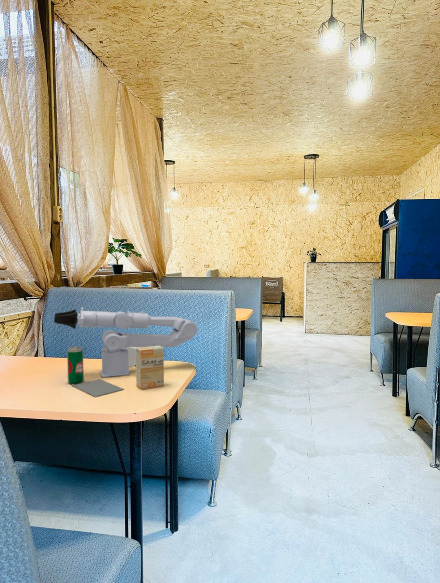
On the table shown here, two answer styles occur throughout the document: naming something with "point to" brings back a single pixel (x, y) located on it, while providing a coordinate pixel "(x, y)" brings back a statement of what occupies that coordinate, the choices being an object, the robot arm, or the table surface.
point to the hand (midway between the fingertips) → (54, 317)
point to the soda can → (75, 365)
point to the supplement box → (149, 367)
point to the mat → (97, 387)
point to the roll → (131, 355)
